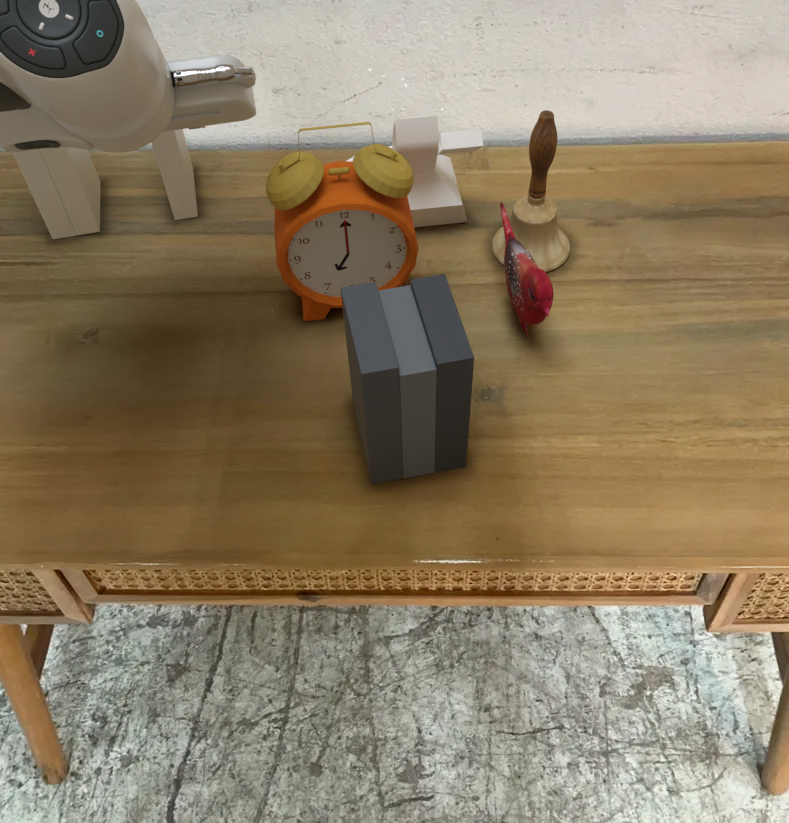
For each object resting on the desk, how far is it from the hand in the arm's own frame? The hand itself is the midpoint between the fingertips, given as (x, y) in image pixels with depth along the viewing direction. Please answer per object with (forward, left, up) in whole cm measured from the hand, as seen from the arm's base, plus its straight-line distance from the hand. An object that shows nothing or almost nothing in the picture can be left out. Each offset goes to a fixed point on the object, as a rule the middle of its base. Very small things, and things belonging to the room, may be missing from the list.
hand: (141, 126), depth 73 cm
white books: (-12, +14, -18) cm, 26 cm away
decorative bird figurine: (+32, -12, -18) cm, 39 cm away
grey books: (+18, -25, -18) cm, 36 cm away
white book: (0, +14, -18) cm, 23 cm away
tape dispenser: (+25, +5, -18) cm, 32 cm away
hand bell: (+36, -4, -18) cm, 41 cm away
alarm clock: (+16, -7, -18) cm, 25 cm away
